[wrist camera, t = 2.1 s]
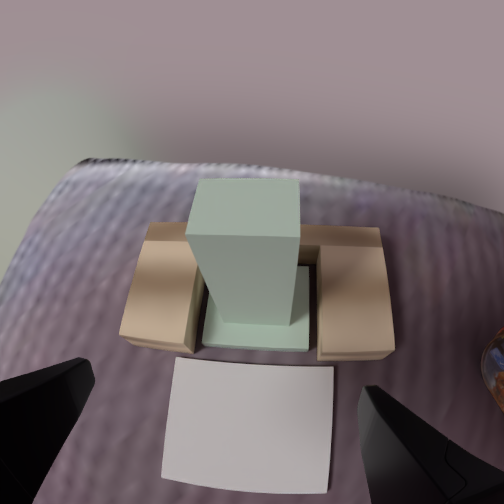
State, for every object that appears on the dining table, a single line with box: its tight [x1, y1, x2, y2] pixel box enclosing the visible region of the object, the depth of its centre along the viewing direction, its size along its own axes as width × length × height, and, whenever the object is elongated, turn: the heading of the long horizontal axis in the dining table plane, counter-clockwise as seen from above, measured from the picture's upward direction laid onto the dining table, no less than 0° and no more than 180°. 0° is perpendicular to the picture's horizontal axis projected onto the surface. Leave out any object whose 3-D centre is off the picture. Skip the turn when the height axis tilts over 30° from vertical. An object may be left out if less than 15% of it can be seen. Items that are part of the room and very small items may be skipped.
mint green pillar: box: [185, 178, 309, 352], centre depth 19 cm, size 7×8×12 cm
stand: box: [119, 222, 395, 361], centre depth 24 cm, size 10×20×3 cm, turn 85°
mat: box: [161, 357, 334, 494], centre depth 19 cm, size 10×12×1 cm
